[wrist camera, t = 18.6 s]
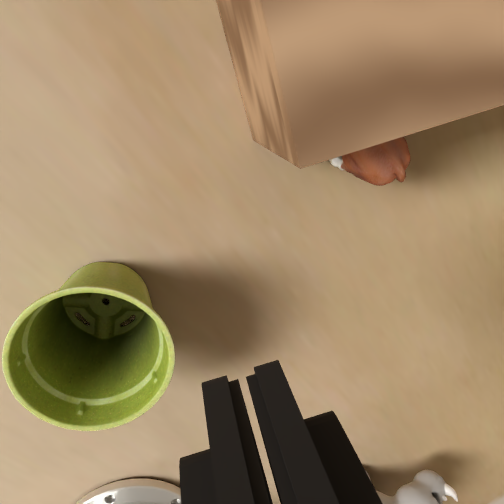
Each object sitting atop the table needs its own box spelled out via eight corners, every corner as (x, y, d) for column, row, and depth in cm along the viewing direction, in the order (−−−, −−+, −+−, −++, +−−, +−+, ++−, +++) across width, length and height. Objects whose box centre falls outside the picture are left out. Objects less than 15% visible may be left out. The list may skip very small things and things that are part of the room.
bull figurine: (284, -20, 30) (326, -57, 23) (381, 154, 35) (443, 171, 27) (228, 22, 30) (252, -1, 23) (333, 189, 35) (380, 216, 28)
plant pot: (198, 301, 36) (207, 362, 28) (106, 377, 37) (91, 458, 29) (108, 212, 33) (91, 253, 25) (10, 297, 34) (-38, 364, 26)
